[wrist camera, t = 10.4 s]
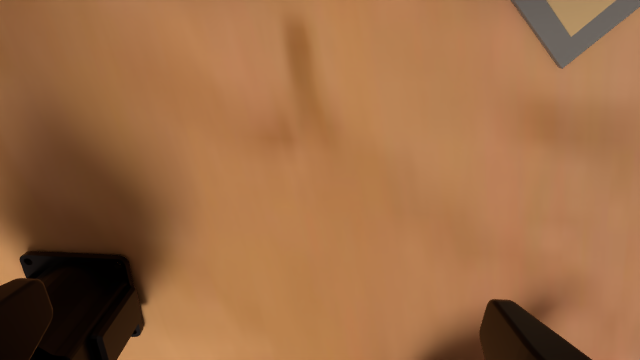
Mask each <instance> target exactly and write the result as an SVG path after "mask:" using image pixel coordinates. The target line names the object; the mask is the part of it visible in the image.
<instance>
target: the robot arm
mask: <svg viewBox="0 0 640 360" xmlns="http://www.w3.org/2000/svg"><path fill="white" fill-rule="evenodd" d="M117 262H118V263H120V264H121V265H120V264H118V263H117ZM20 263H21V265H22V268H23V271H24V273H25V276H26V278H19V279H15V280H12V281H10V282H8V283H6V284H3V285H1V286H0V360H117V358H118V357H119V355H120V353H121V352H122V350H123V349H124V347H125V345H126V344H127V342H128V340H129V339H130V337H137V336H139V335H140V334H141V332H142V330H143V324H142V313H141V308H140V304H139V299H138V295H137V290H136V288H135V287H134V283H133V279H132V274H131V270H130V265H129V261H128V259H127V258H126V257H124V256H122V255H108V254H85V253H62V252H39V251H28V252H26V253H25V254H23V255H22V256H21V257H20ZM480 342H481V346H482V349H483V353H484V357H485V360H592V359H590V358H589V357H588V356H586V355H585V354H584V353H582V352H581V351H580V350H578V349H577V348H576V347H574V346H573V345H571V344H570V343H569V342H567V341H566V340H565V339H563V338H562V337H561V336H559V335H558V334H557V333H555V332H554V331H553V330H551V329H550V328H549V327H547V326H546V325H545V324H543V323H542V322H540V321H539V320H538V319H536V318H535V317H534V316H532V315H531V314H530V313H528V312H527V311H526V310H524V309H523V308H522V307H520V306H519V305H518V304H516V303H515V302H513V301H511V300H500V299H492V300H490V301H489V302H488V304H487V307H486V310H485V313H484V317H483V320H482V323H481V327H480Z"/></svg>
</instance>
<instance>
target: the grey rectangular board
mask: <svg viewBox="0 0 640 360" xmlns="http://www.w3.org/2000/svg"><path fill="white" fill-rule="evenodd" d="M511 1H512V3H513V4H514V5H515V7H516V8H517V10H518V11H519V13H520V14H521V15H522V17H523V18H524V20H525V21H526V22H527V24H528V25H529V27H530V28H531V29H532V31H533V32H534V34H535V35H536V36H537V38H538V39H539V41H540V42H541V44H542V45H543V46H544V48H545V49H546V51H547V52H548V53H549V55H550V56H551V58H552V59H553V60H554V62H555V63H556V65H557V66H558V67H559V68H564V67H565V66H566V65H567V64H569V63H570V62H571V61H572V60H574V59H575V58H576V57H577V56H579V55H580V54H581V53H582V52H584V51H585V50H586V49H587V48H589V47H590V46H591V45H592V44H594V43H595V42H596V41H598V40H599V39H600V38H601V37H603V36H604V35H605V34H606V33H608V32H609V31H610V30H611V29H613V28H614V27H615V26H616V25H618V24H619V23H620V22H621V21H623V20H624V19H625V18H626V17H628V16H629V15H630V14H631V13H633V12H634V11H635V10H636V9H638V8H639V7H640V0H511Z"/></svg>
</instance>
